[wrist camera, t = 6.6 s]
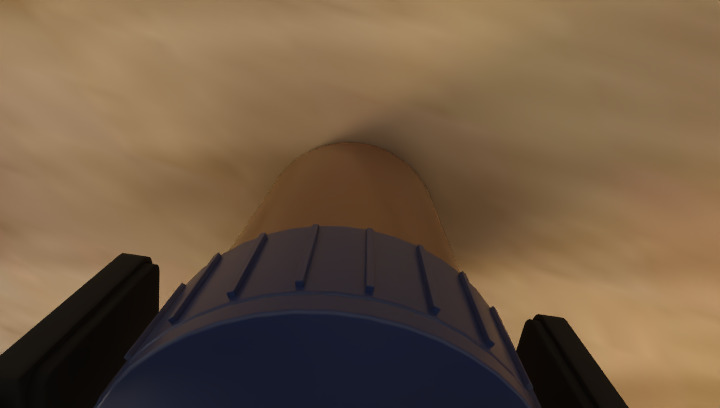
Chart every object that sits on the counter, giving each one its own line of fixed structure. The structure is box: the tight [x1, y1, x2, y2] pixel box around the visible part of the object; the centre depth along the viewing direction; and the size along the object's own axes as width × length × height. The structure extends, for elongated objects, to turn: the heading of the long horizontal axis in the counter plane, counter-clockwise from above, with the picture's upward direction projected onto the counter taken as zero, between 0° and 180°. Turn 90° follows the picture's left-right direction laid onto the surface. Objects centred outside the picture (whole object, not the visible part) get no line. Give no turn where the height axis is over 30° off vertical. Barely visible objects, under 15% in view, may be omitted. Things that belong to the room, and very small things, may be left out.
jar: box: [230, 142, 460, 273], centre depth 12 cm, size 6×6×10 cm
